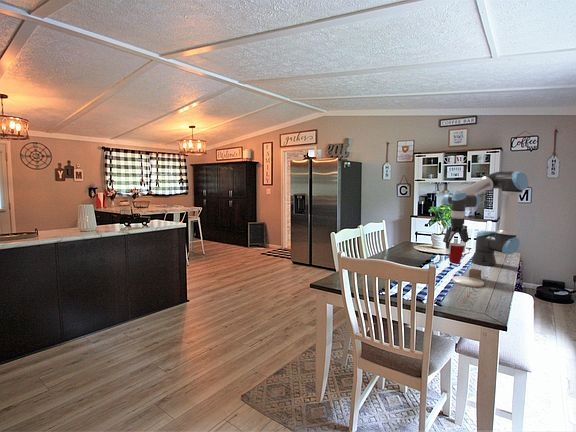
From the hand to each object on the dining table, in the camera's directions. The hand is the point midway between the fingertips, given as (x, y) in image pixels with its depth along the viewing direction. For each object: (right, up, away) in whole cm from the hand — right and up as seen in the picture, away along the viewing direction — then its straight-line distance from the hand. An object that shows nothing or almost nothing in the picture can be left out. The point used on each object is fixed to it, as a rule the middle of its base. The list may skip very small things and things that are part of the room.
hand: (455, 252), depth 211 cm
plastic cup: (0, -6, +1) cm, 6 cm away
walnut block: (+10, -15, -4) cm, 18 cm away
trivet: (0, -16, -14) cm, 21 cm away
